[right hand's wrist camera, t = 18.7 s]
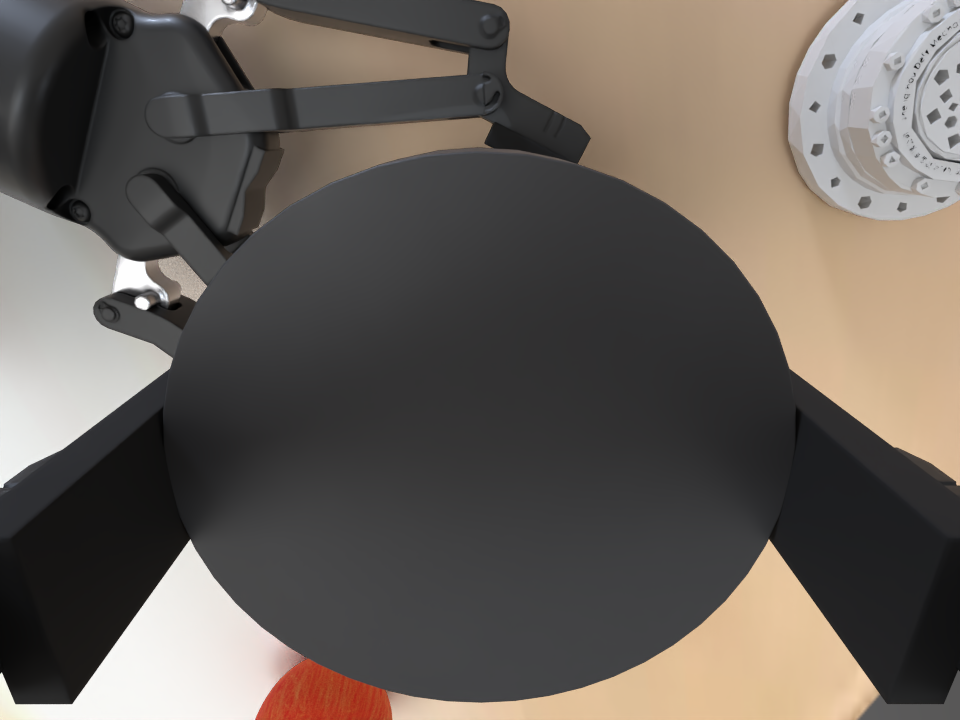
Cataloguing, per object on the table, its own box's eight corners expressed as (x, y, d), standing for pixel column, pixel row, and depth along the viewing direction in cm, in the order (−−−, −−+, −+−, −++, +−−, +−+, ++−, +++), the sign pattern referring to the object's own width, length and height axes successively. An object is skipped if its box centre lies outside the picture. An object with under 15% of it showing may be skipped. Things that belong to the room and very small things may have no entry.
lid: (199, 567, 14) (146, 648, 11) (249, 71, 10) (183, 53, 8) (632, 653, 15) (659, 742, 12) (834, 235, 11) (923, 260, 9)
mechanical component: (755, 43, 24) (816, 253, 27) (811, 25, 20) (875, 273, 23) (1000, -86, 22) (1034, 153, 26) (1117, -136, 18) (1139, 156, 22)
